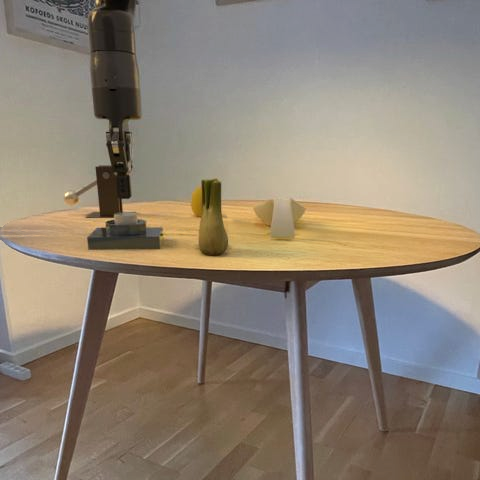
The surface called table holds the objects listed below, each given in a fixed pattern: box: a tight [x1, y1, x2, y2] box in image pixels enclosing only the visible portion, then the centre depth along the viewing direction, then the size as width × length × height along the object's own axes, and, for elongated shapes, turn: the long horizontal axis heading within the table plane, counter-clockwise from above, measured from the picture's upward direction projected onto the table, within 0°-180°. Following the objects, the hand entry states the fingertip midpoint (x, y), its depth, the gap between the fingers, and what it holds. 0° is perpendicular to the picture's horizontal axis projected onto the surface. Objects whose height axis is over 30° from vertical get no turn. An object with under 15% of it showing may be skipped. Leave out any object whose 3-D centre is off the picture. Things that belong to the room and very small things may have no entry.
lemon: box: [190, 184, 202, 218], centre depth 107 cm, size 6×6×8 cm
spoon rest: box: [252, 196, 307, 239], centre depth 98 cm, size 24×12×7 cm, turn 179°
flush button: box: [113, 211, 139, 224], centre depth 82 cm, size 4×4×2 cm
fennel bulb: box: [197, 178, 229, 256], centre depth 75 cm, size 6×5×12 cm
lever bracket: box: [85, 164, 137, 219], centre depth 106 cm, size 10×8×12 cm
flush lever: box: [63, 166, 111, 206], centre depth 105 cm, size 13×3×3 cm, turn 96°
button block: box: [86, 218, 164, 251], centre depth 83 cm, size 12×9×4 cm
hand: (125, 198), depth 81 cm, fingers closed
